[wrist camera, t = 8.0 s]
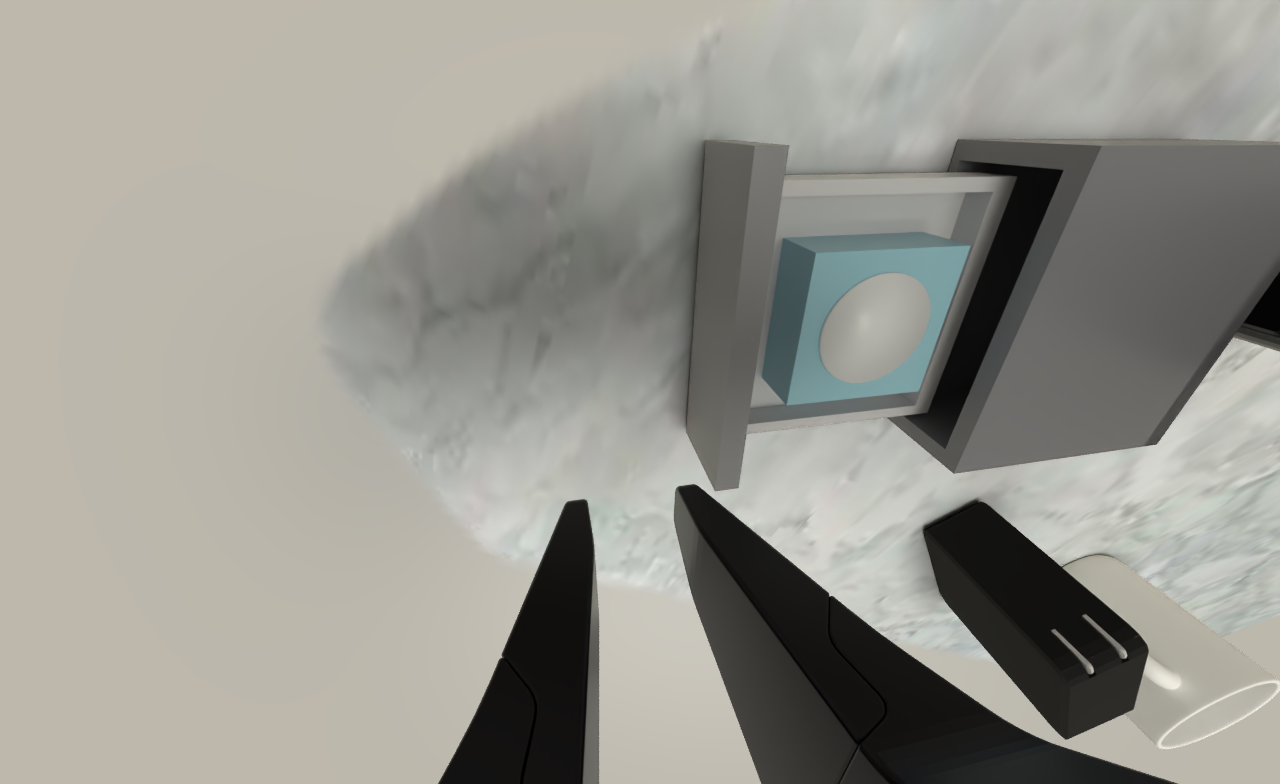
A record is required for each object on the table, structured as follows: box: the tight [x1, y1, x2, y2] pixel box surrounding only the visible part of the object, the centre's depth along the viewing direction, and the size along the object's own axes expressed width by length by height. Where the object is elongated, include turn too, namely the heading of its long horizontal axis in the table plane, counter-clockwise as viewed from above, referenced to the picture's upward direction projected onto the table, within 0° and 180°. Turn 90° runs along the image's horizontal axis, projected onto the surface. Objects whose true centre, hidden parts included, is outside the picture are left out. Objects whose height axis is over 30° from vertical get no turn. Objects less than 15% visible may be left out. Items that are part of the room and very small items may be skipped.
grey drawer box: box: [887, 139, 1280, 474], centre depth 20 cm, size 11×12×5 cm
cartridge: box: [762, 232, 971, 406], centre depth 18 cm, size 6×6×3 cm
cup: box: [1062, 555, 1280, 749], centre depth 34 cm, size 8×12×10 cm
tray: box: [686, 140, 1018, 491], centre depth 18 cm, size 11×12×4 cm
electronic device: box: [924, 502, 1149, 739], centre depth 29 cm, size 4×10×10 cm, turn 29°
